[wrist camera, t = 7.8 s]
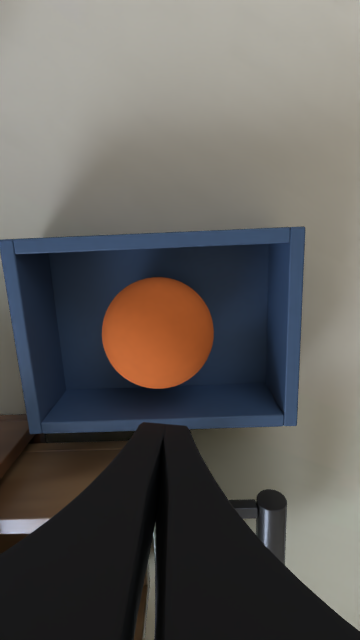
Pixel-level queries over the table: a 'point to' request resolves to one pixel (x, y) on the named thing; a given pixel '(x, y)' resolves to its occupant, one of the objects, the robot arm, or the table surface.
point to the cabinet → (14, 439)
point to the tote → (145, 262)
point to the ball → (157, 332)
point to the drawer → (77, 473)
